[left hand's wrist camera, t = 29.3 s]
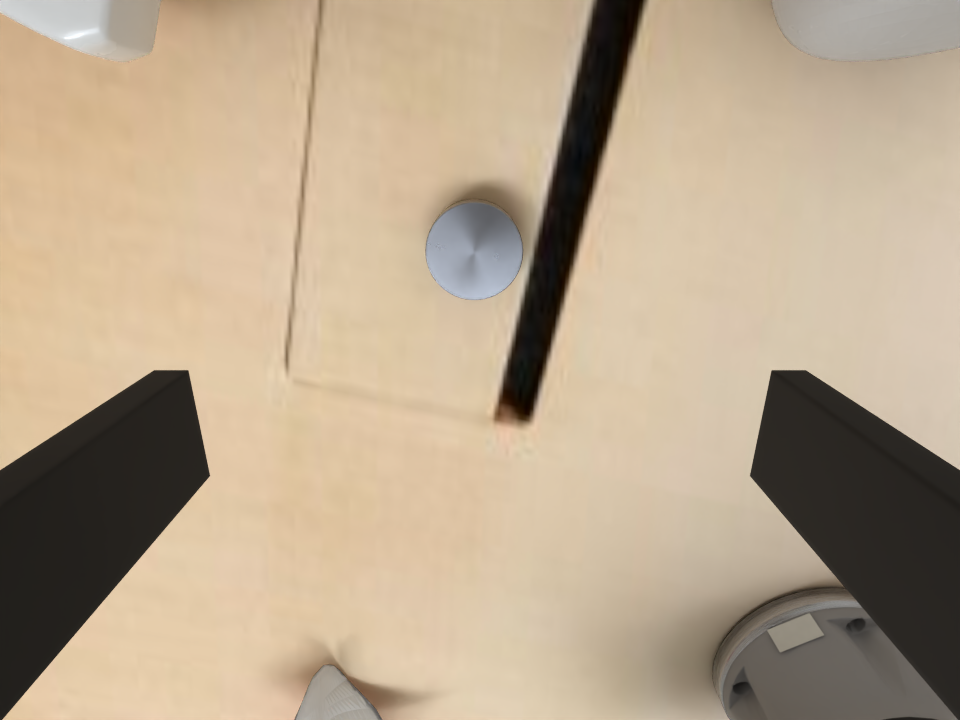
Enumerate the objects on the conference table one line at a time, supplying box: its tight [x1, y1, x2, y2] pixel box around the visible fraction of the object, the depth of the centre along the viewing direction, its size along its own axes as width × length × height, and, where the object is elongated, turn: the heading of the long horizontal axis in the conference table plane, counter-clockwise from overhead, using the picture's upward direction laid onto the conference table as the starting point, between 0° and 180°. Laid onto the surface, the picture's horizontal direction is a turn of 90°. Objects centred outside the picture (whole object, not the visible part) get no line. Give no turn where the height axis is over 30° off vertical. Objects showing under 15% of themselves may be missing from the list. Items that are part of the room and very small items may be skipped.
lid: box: [426, 199, 523, 300], centre depth 30 cm, size 5×5×2 cm
